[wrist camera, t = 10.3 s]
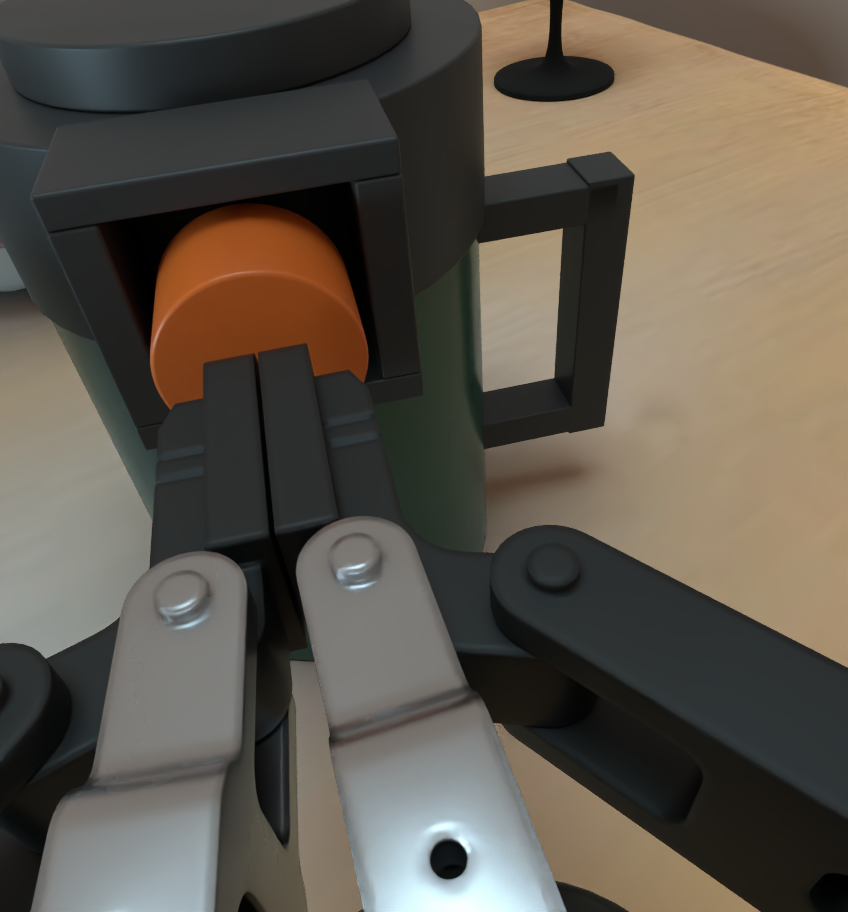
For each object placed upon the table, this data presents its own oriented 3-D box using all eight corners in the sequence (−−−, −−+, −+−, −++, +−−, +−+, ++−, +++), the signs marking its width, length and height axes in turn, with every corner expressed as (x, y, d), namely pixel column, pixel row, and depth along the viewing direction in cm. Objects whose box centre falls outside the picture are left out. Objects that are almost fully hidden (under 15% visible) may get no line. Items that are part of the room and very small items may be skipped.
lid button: (188, 382, 15) (127, 220, 12) (360, 350, 15) (332, 185, 13) (187, 466, 13) (115, 295, 10) (380, 427, 13) (353, 252, 11)
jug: (131, 464, 33) (-110, -25, 20) (539, 382, 35) (559, -112, 22) (98, 787, 23) (-442, 206, 10) (682, 645, 25) (878, 3, 12)
